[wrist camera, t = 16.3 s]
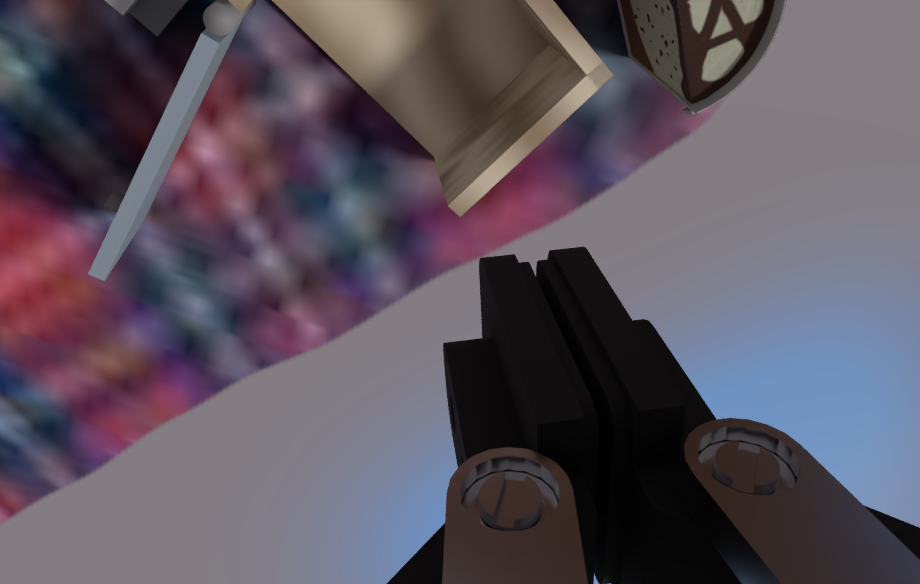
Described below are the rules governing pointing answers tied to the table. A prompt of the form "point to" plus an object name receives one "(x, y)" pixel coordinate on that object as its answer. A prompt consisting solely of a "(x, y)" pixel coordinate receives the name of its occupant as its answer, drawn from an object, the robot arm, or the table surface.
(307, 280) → the table surface
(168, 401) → the table surface
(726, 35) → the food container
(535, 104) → the tan open box
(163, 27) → the fader board
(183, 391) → the table surface
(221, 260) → the table surface
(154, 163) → the door
